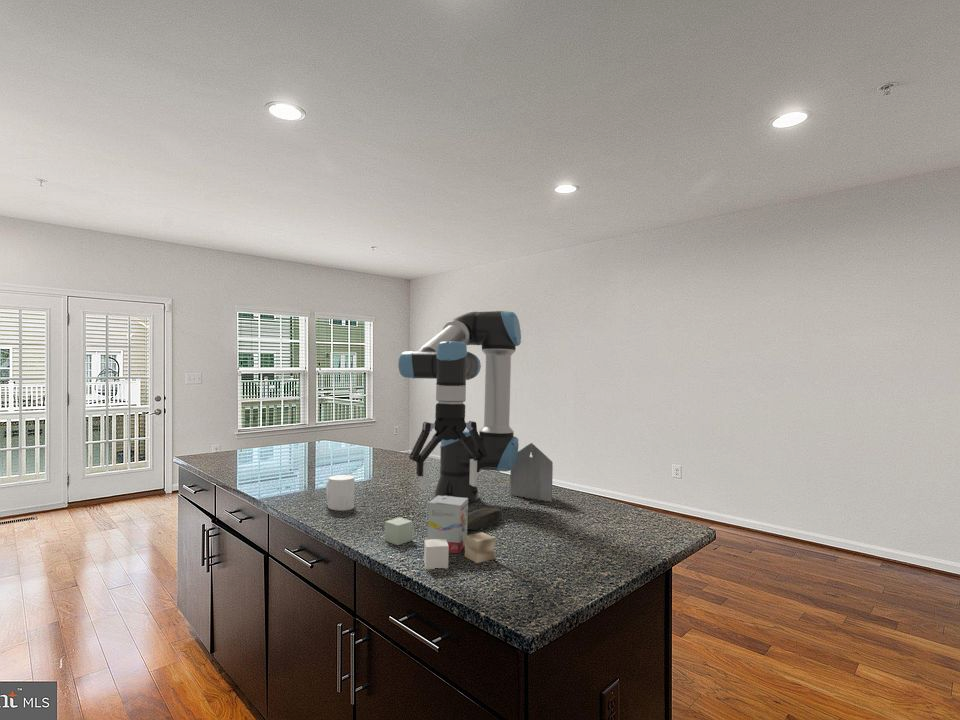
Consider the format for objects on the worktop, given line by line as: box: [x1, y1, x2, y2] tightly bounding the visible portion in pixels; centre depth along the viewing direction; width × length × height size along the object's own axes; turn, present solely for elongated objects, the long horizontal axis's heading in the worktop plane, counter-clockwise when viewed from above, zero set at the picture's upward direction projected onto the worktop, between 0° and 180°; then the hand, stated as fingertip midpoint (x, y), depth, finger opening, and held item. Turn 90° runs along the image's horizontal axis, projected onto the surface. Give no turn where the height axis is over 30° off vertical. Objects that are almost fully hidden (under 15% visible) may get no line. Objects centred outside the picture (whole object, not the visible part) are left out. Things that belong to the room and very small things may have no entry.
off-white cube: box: [423, 539, 449, 570], centre depth 115 cm, size 5×5×5 cm
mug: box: [325, 474, 356, 511], centre depth 163 cm, size 12×9×8 cm
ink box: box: [426, 495, 469, 554], centre depth 127 cm, size 9×9×12 cm
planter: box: [509, 442, 554, 503], centre depth 180 cm, size 16×8×19 cm, turn 58°
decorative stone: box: [467, 507, 504, 531], centre depth 145 cm, size 17×6×4 cm, turn 137°
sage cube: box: [384, 516, 414, 546], centre depth 131 cm, size 5×5×5 cm
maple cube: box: [464, 532, 495, 564], centre depth 120 cm, size 5×5×5 cm
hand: (448, 487), depth 127 cm, fingers open, 13 cm apart
